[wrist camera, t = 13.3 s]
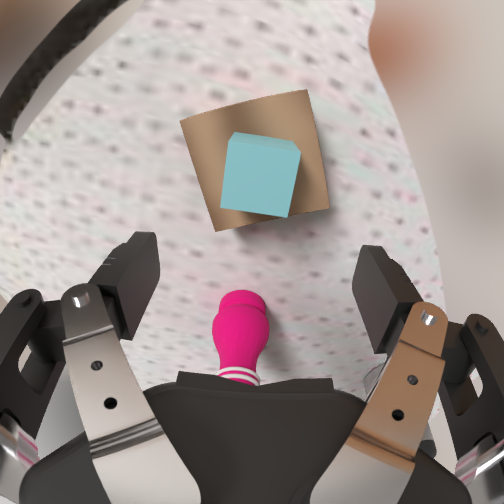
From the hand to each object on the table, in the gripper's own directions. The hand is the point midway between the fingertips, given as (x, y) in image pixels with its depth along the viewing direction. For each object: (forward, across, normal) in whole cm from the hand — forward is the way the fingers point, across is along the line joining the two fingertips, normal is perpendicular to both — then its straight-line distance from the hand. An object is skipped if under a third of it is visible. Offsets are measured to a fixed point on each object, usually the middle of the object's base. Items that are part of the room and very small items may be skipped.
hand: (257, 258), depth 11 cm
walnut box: (+22, 0, 0) cm, 22 cm away
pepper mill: (+22, +1, +21) cm, 30 cm away
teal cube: (+16, 0, 0) cm, 16 cm away
